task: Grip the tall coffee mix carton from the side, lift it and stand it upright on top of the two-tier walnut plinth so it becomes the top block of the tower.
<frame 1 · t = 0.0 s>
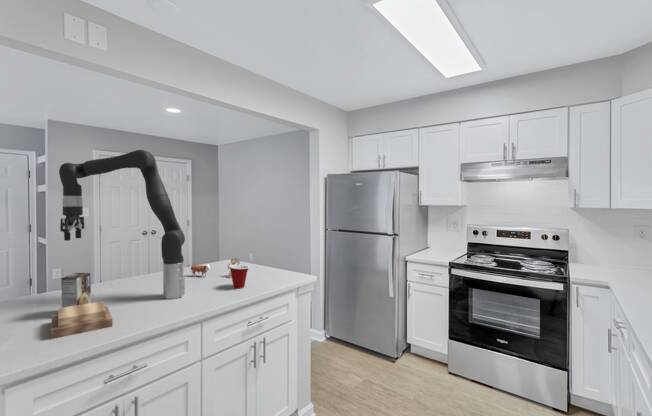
hand: (73, 239, 152), 29 cm above the counter, tool pointing down, fingers open, 8 cm apart
gingerbread man figurine: (233, 276, 202), on the counter
bull figurine: (201, 276, 201), on the counter
plinth: (82, 324, 124), on the counter
plastic cup: (239, 287, 178), on the counter
coffee box: (76, 312, 137), on the counter
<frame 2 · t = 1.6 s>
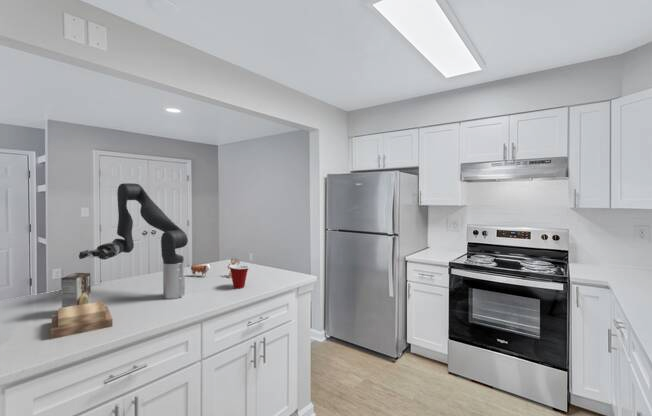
hand: (90, 256, 147), 22 cm above the counter, tool horizontal, fingers open, 8 cm apart
nothing on the counter moved.
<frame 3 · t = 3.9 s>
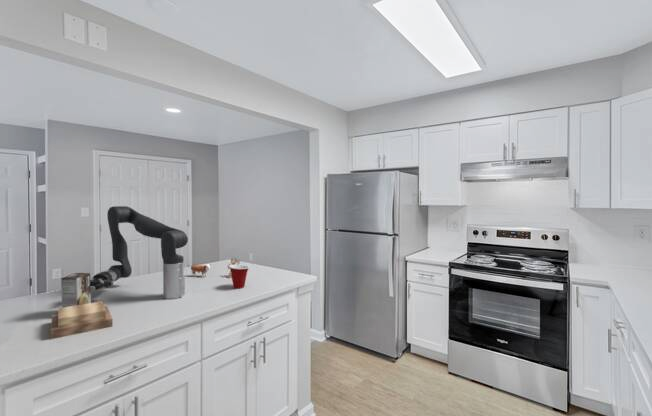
hand: (85, 287, 144), 9 cm above the counter, tool horizontal, fingers open, 8 cm apart
nothing on the counter moved.
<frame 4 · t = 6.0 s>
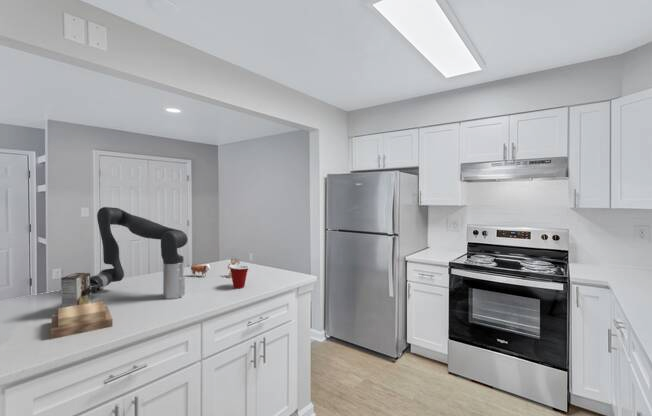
hand: (73, 294, 134), 9 cm above the counter, tool horizontal, fingers closed on coffee box, 6 cm apart
coffee box: (76, 312, 137), on the counter, touching gripper
everything else where it was.
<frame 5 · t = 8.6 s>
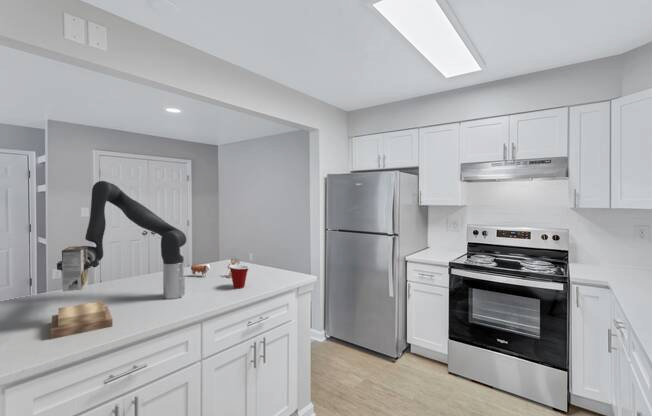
hand: (74, 267, 126), 22 cm above the counter, tool horizontal, fingers closed on coffee box, 6 cm apart
coffee box: (75, 288, 128), point 13 cm above the counter, touching gripper
everything else where it was.
when the fingers open (16 cm above the counter, at t = 11.1 s): coffee box drops 1 cm, resting on plinth.
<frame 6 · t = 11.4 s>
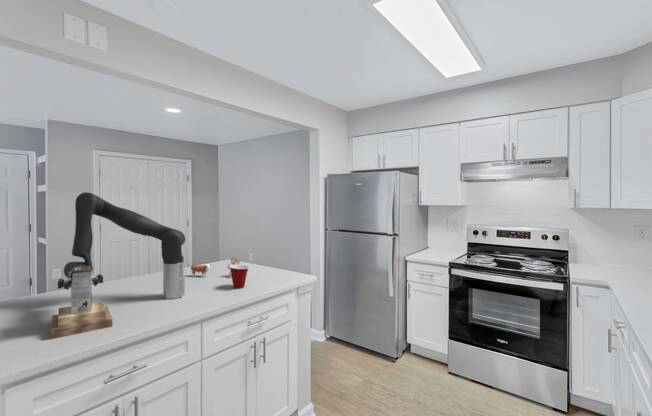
hand: (81, 285, 122), 16 cm above the counter, tool horizontal, fingers open, 8 cm apart
coffee box: (81, 309, 124), point 6 cm above the counter, touching plinth
everything else where it was.
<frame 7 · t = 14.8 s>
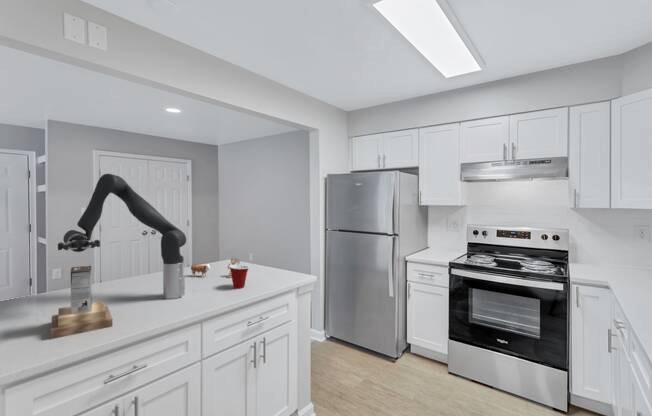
hand: (80, 246, 131), 29 cm above the counter, tool horizontal, fingers open, 8 cm apart
nothing on the counter moved.
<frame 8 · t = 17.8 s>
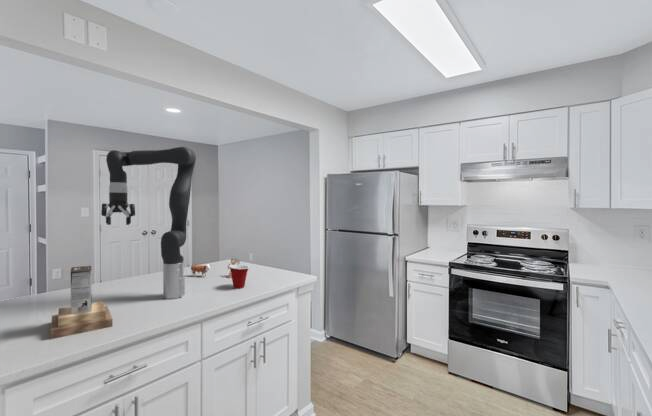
hand: (118, 224, 157), 36 cm above the counter, tool pointing down, fingers open, 8 cm apart
nothing on the counter moved.
at the end: coffee box inside the target area on the plinth (0.1 cm from its centre), point 5.8 cm above the plinth's base; coffee box tilted 0°; the gripper is holding nothing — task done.
